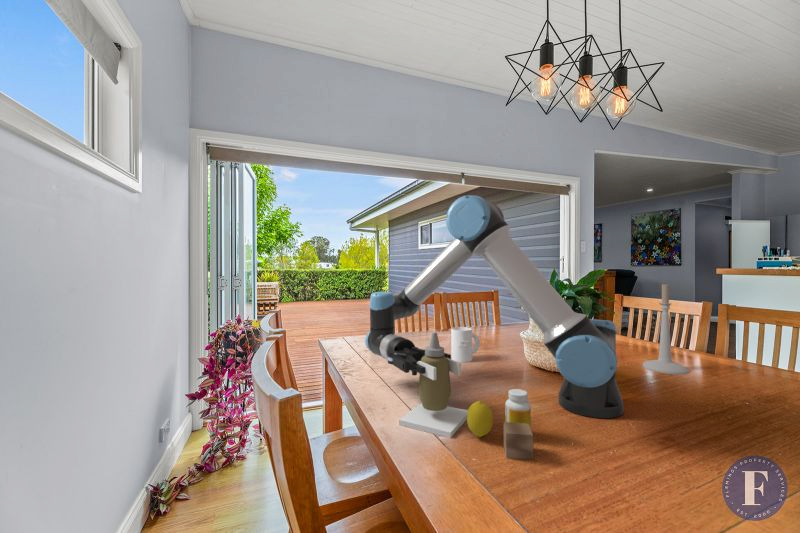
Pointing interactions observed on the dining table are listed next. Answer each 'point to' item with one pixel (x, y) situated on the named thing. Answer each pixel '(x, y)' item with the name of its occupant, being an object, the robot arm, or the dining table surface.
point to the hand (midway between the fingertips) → (447, 371)
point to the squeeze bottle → (438, 390)
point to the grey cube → (518, 441)
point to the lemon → (479, 418)
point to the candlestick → (665, 343)
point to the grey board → (435, 420)
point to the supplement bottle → (518, 407)
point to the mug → (463, 344)
